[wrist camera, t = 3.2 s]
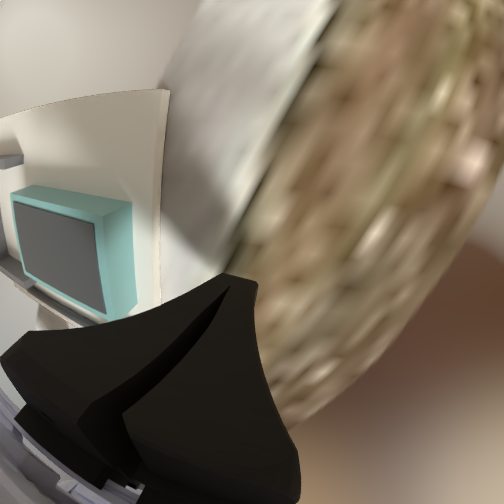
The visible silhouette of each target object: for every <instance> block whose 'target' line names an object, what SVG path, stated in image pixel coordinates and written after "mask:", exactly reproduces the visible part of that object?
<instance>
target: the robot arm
mask: <svg viewBox="0 0 504 504" xmlns="http://www.w3.org/2000/svg"><path fill="white" fill-rule="evenodd" d="M257 290H258V284H257V282H256V281H252V280H248V279H244V278H241V277H237V276H233V275H229V274H225V273H221V274H219V275H217V276H216V277H214V278H212V279H210V280H208V281H207V282H205V283H203V284H201V285H200V286H198V287H196V288H194V289H192V290H191V291H189V292H187V293H185V294H183V295H181V296H179V297H177V298H175V299H172V300H170V301H168V302H166V303H164V304H162V305H160V306H157V307H155V308H152V309H150V310H147V311H144V312H141V313H139V314H136V315H133V316H129V317H126V318H122V319H118V320H114V321H110V322H107V323H102V324H98V325H93V326H87V327H80V328H74V329H64V330H44V331H28V332H27V333H26V334H24V335H23V336H22V337H21V338H20V339H19V340H18V341H17V342H16V343H14V344H13V345H12V346H11V347H10V348H9V349H8V350H7V351H6V352H5V353H4V354H3V355H2V356H1V357H0V363H1V366H2V368H3V370H4V371H5V373H6V375H7V376H8V378H9V379H10V381H11V382H12V384H13V385H14V387H15V388H16V390H17V391H18V392H19V394H20V395H21V396H22V398H23V399H24V400H25V402H26V403H27V404H26V405H25V406H24V407H23V408H22V409H21V410H20V409H19V408H18V407H17V406H16V405H15V404H14V403H13V402H12V401H11V400H10V398H8V396H7V395H6V394H5V393H4V392H3V391H2V390H1V388H0V504H296V503H297V502H298V501H299V499H300V494H301V472H300V464H299V457H298V451H297V449H296V447H295V445H294V443H293V441H292V440H291V438H290V436H289V434H288V432H287V430H286V428H285V426H284V424H283V422H282V420H281V417H280V415H279V413H278V411H277V408H276V406H275V404H274V401H273V398H272V395H271V393H270V390H269V387H268V384H267V381H266V378H265V375H264V372H263V368H262V364H261V360H260V356H259V351H258V346H257V340H256V333H255V323H254V306H255V301H256V296H257ZM22 435H23V436H24V437H25V438H26V439H28V441H29V442H30V443H32V444H33V445H34V446H35V447H36V448H37V449H38V450H39V451H40V452H41V453H42V454H44V455H45V456H46V457H47V458H48V459H49V460H51V461H52V462H53V463H54V464H55V465H57V466H58V467H59V468H60V469H62V470H63V471H64V472H66V473H67V474H68V475H70V476H71V477H72V478H74V479H75V480H66V481H63V482H61V483H60V484H59V485H57V482H58V481H59V480H60V475H59V474H57V473H56V472H55V471H54V470H53V469H52V468H51V467H50V466H48V465H47V464H46V463H45V462H44V461H42V460H41V459H40V458H39V457H38V456H37V455H35V454H34V453H33V452H32V451H31V450H30V449H29V448H28V447H26V446H25V445H24V444H23V441H22V440H23V437H22Z"/></svg>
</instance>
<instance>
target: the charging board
mask: <svg viewBox="0 0 504 504" xmlns="http://www.w3.org/2000/svg"><path fill="white" fill-rule="evenodd" d="M170 92H171V91H170V90H165V89H151V90H135V91H124V92H114V93H106V94H99V95H92V96H86V97H80V98H74V99H69V100H64V101H60V102H55V103H51V104H46V105H42V106H39V107H35V108H31V109H28V110H24V111H21V112H18V113H15V114H12V115H8V116H5V117H2V118H0V271H1V272H2V273H4V274H5V275H6V276H8V277H9V278H10V279H12V280H13V281H14V284H15V286H16V287H17V288H18V289H20V290H21V291H22V292H24V293H25V294H26V295H28V296H29V297H31V298H32V299H33V300H35V301H36V302H38V303H39V304H41V305H42V306H44V307H45V308H47V309H48V310H50V311H51V312H53V313H54V314H56V315H57V316H59V317H61V318H62V319H64V320H66V321H67V322H69V323H71V324H72V325H74V326H76V327H77V328H80V327H87V326H93V325H98V324H102V323H107V322H110V321H108V320H106V319H104V318H102V317H100V316H98V315H96V314H94V313H92V312H90V311H88V310H86V309H84V308H82V307H80V306H78V305H76V304H75V303H73V302H71V301H69V300H67V299H65V298H64V297H62V296H60V295H58V294H56V293H55V292H53V291H51V290H50V289H48V288H46V287H45V286H43V285H41V284H40V283H38V282H36V281H35V280H33V279H32V278H30V277H28V276H27V275H25V274H24V270H23V266H22V262H21V258H20V254H19V249H18V245H17V239H16V234H15V229H14V222H13V216H12V208H11V200H10V193H12V192H14V191H17V190H20V189H22V188H25V187H28V186H31V185H38V186H44V187H50V188H56V189H62V190H68V191H73V192H79V193H84V194H90V195H95V196H101V197H106V198H111V199H116V200H122V201H127V202H132V222H133V250H134V267H135V279H136V290H137V300H138V304H137V305H136V306H135V307H134V308H133V309H132V310H131V311H130V312H129V313H128V314H127V315H126V316H125V317H124V318H126V317H129V316H133V315H136V314H139V313H141V312H144V311H147V310H150V309H152V308H155V307H157V306H160V305H161V290H160V199H161V180H162V165H163V152H164V141H165V131H166V122H167V114H168V106H169V99H170Z"/></svg>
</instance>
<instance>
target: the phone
mask: <svg viewBox="0 0 504 504" xmlns="http://www.w3.org/2000/svg"><path fill="white" fill-rule="evenodd" d="M10 200H11V208H12V216H13V222H14V229H15V234H16V239H17V245H18V249H19V254H20V258H21V262H22V266H23V270H24V274H25V275H27V276H28V277H30V278H32V279H33V280H35V281H36V282H38V283H40V284H41V285H43V286H45V287H46V288H48V289H50V290H51V291H53V292H55V293H56V294H58V295H60V296H62V297H64V298H65V299H67V300H69V301H71V302H73V303H75V304H76V305H78V306H80V307H82V308H84V309H86V310H88V311H90V312H92V313H94V314H96V315H98V316H100V317H102V318H104V319H106V320H108V321H114V320H118V319H122V318H124V317H125V316H126V315H127V314H128V313H129V312H130V311H131V310H132V309H133V308H134V307H135V306H136V305H137V304H138V300H137V290H136V279H135V267H134V250H133V222H132V202H127V201H122V200H116V199H111V198H106V197H101V196H95V195H90V194H84V193H79V192H73V191H68V190H62V189H56V188H50V187H44V186H38V185H31V186H28V187H25V188H22V189H20V190H17V191H14V192H12V193H10Z"/></svg>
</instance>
